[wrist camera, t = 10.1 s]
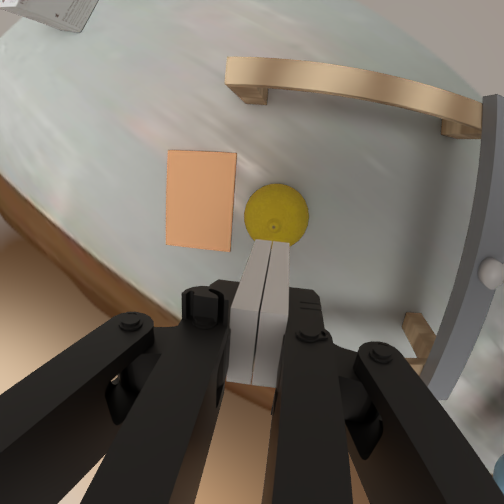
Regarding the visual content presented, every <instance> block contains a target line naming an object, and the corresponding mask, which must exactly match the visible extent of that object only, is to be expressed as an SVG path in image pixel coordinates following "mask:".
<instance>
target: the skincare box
mask: <svg viewBox="0 0 504 504" xmlns="http://www.w3.org/2000/svg"><path fill="white" fill-rule="evenodd" d="M97 1H98V0H1V1H0V9H1V10H5V11H9V12H11V13H14V14H17V15H20V16H23V17H26V18H29V19H32V20H35V21H37V22H40V23H43V24H46V25H49V26H51V27H54V28H57V29H59V30H63V31H71V32H78V33H79V32H81V30H82V29H83V27H84V25H85V23H86V21H87V20H88V18H89V16H90V14H91V12H92V11H93V9H94V7H95V5H96V3H97Z"/></svg>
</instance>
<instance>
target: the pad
mask: <svg viewBox="0 0 504 504" xmlns="http://www.w3.org/2000/svg"><path fill="white" fill-rule="evenodd" d="M236 159H237V153H225V152H206V151H179V150H168V161H167V189H166V245H173V246H182V247H191V248H199V249H208V250H217V251H225V252H230V249H231V233H232V217H233V201H234V187H235V172H236Z"/></svg>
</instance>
